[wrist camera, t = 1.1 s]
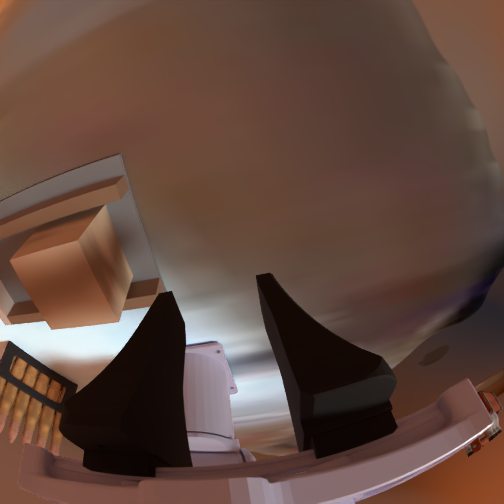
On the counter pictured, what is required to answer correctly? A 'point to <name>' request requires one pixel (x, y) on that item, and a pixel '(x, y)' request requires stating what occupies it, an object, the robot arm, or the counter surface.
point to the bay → (66, 203)
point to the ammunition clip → (32, 397)
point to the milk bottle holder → (493, 409)
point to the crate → (75, 270)
